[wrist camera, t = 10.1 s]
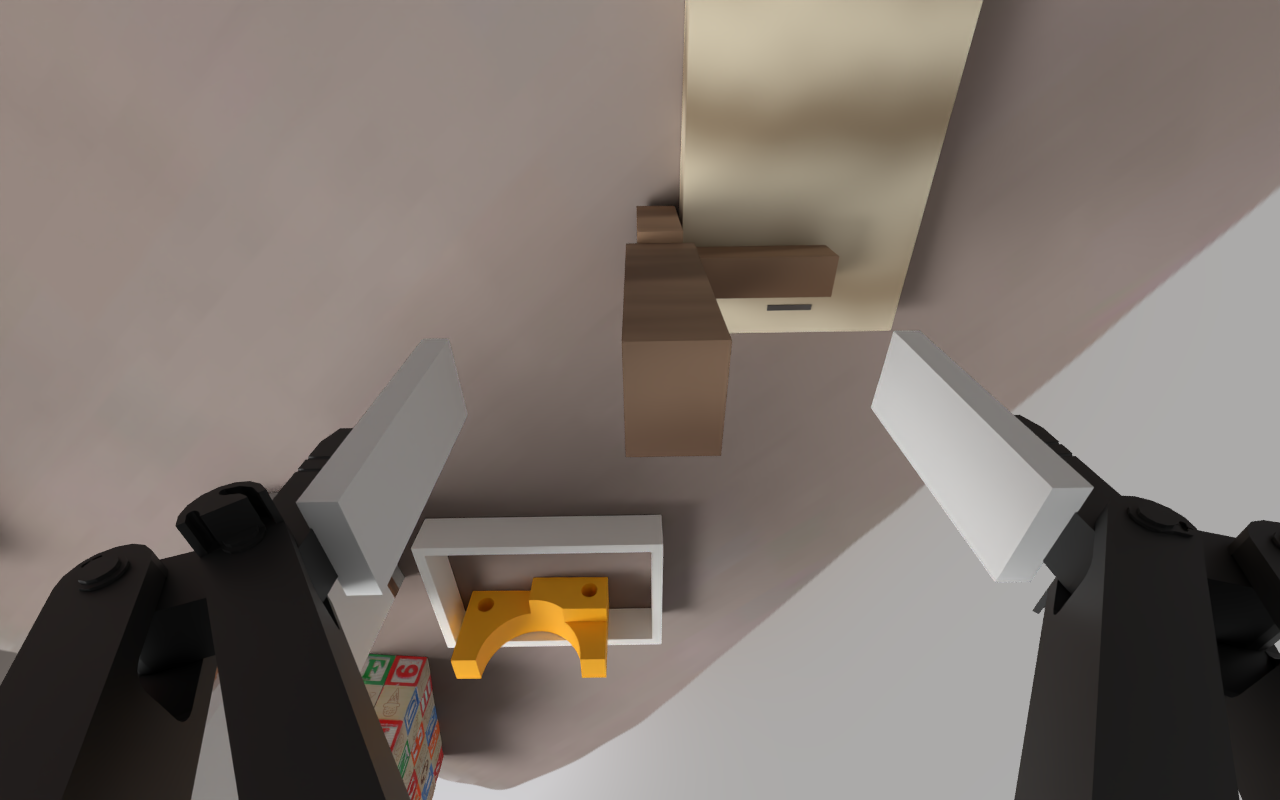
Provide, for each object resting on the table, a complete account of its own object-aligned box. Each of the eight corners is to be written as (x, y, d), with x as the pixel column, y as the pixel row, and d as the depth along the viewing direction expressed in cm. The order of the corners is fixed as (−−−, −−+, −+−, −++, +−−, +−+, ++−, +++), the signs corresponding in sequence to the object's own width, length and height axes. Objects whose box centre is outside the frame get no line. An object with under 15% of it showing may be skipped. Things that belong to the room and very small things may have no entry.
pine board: (692, -235, 19) (699, -278, 16) (1012, -239, 19) (1063, -282, 16) (675, 316, 30) (679, 334, 28) (872, 313, 30) (891, 331, 28)
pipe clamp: (607, 575, 43) (604, 646, 38) (609, 606, 46) (606, 677, 40) (469, 576, 43) (446, 647, 38) (478, 607, 45) (456, 678, 40)
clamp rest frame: (425, 518, 39) (410, 548, 37) (661, 514, 39) (663, 544, 37) (458, 616, 46) (448, 647, 43) (659, 613, 46) (661, 643, 43)
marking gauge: (627, 206, 26) (621, 324, 13) (815, 203, 26) (995, 319, 13) (629, 296, 29) (626, 469, 16) (800, 294, 29) (937, 464, 16)
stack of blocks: (446, 754, 61) (407, 893, 50) (393, 752, 60) (342, 891, 50) (428, 655, 49) (373, 807, 39) (362, 651, 49) (289, 804, 38)
